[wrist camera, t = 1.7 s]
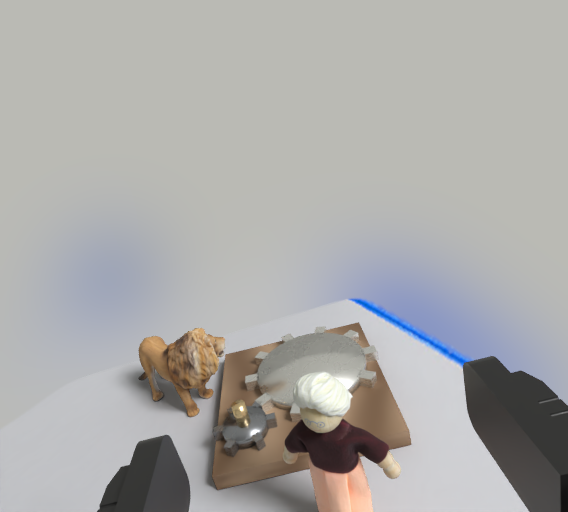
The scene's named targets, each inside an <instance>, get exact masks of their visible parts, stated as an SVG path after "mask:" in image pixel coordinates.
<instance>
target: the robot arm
mask: <svg viewBox="0 0 568 512" xmlns="http://www.w3.org/2000/svg"><path fill="white" fill-rule="evenodd" d="M463 374H464V383H465V393H466V402H467V410H468V414H469V417H470V420H471V423H472V425H473V427H474V429H475V431H476V433H477V434H478V436H479V437H480V439H481V440H482V442H483V443H484V445H485V446H486V448H487V449H488V451H489V452H490V454H491V455H492V457H493V458H494V460H495V461H496V463H497V464H498V466H499V467H500V469H501V470H502V472H503V473H504V474H505V476H506V477H507V479H508V480H509V482H510V483H511V485H512V486H513V488H514V489H515V491H516V492H517V494H518V495H519V497H520V498H521V500H522V501H523V503H524V504H525V506H526V507H527V509H528V510H529V512H568V406H567V405H566V404H565V403H564V402H563V401H562V400H561V399H560V400H559V398H558V396H557V395H556V394H555V393H554V392H553V391H552V390H551V389H550V388H549V387H548V386H547V385H546V384H545V383H544V382H543V381H540V380H539V379H537V378H535V377H533V376H531V375H529V374H527V373H525V372H523V371H518V372H514V373H510V372H509V371H508V370H507V369H506V368H505V367H504V366H503V364H502V363H501V362H500V361H499V360H498V359H497V358H496V357H494V356H490V357H487V358H482V359H478V360H474V361H470V362H466V363H464V365H463ZM189 505H190V485H189V479H188V476H187V473H186V471H185V469H184V467H183V464H182V462H181V460H180V457H179V455H178V453H177V451H176V448H175V446H174V444H173V441H172V439H171V438H170V436H168V435H164V436H160V437H156V438H151V439H147V440H143V441H140V442H139V443H138V444H137V446H136V448H135V451H134V454H133V457H132V460H131V463H130V465H128V466H124V467H121V468H120V469H119V471H118V472H117V473H116V475H115V476H114V477H113V479H112V480H111V481H110V483H109V484H108V485H107V488H106V490H105V493H104V495H103V498H102V501H101V503H100V510H98V511H97V512H188V511H189Z"/></svg>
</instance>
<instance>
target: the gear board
mask: <svg viewBox="0 0 568 512" xmlns="http://www.w3.org/2000/svg"><path fill="white" fill-rule="evenodd" d="M349 330H353V331H355V332H358V335H359V341H358V342H357V343H358V344H359V345H360V346H361V347H362V348H365V347H369V346H370V345H369V343H368V341H367V339H366V337H365V335H364V333H363V330H362V328H361V326H360V324H359V323H355V324H351V325H346V326H342V327H338V328H334V329H330V330H326V331H327V333H335V334H340V335H344V334H345V333H347V332H348V331H349ZM313 334H314V333H313ZM281 344H283V342H282V341H280V342H276V343H272V344H268V345H264V346H259V347H255V348H251V349H247V350H243V351H239V352H234V353H230V354H226V355H225V364H224V373H223V382H222V391H221V400H220V409H219V418H218V426H220V425H223V422H224V421H225V419H226V418H227V417H228V416H229V414H228V411H227V409H229V408H230V407H231V405H232V403H233V402H235V401H237V400H243V401H244V402H245V405H246V406H252V405H253V403H254V402H255V400H256V399H258V398H259V397H260V396H262V394H261V391H260V388H258V389H254V390H250V391H248V390H247V387H246V384H245V376H248V375H253V374H257V372H258V368H259V366H260V365H257V364H256V360H255V356H256V355H257V354H258V353H259V352H260V351H261V352H267V353H270V352H271V351H272V350H273V349H275V348H276V347H278V346H279V345H281ZM367 371H373V372H376V378H377V382H376V384H375V385H374V387H373V388H368V387H363V386H360V387H359V388H358V389H357V390H356V391H355V392H354V393H353V394H352V396H353V397H352V398H351V400H350V409H348V411H347V412H346V413H345V415H344V416H343V417H342V419H344V420H346V421H347V422H348V423H350V424H351V425H353V426H355V427H359V428H362V429H364V430H366V431H368V432H370V433H371V434H372V435H374V436H375V437H377V438H378V439H380V440H382V441H384V442H385V443H387V444H388V445H389V450H390V449H395V448H399V447H403V446H408V445H411V439H410V433H409V429H408V427H407V425H406V423H405V420H404V418H403V416H402V414H401V412H400V410H399V408H398V405H397V403H396V401H395V399H394V397H393V395H392V393H391V390H390V388H389V386H388V384H387V382H386V380H385V378H384V375H383V373H382V371H381V369H380V367H379V365H378V363H377V360H376V361H371V362H367ZM270 413H275V416H276V419H277V427H275V428H271V429H269V430H268V433H267V435H266V437H265V438H264V441H265V444H266V447H264V448H263V449H262V450H260V451H258V449H257V448H256V447H255V446H253V447H251V448H248V449H244V450H238V452H237V453H236V455H235V456H234V457H231V456H227V454H226V451H225V449H224V445H225V444H226V441H225V440H220V441H216V445H215V454H214V463H213V472H212V478H213V480H214V483H215V485H216V488H217V490H220V489H224V488H228V487H233V486H237V485H241V484H245V483H250V482H254V481H258V480H262V479H267V478H271V477H275V476H280V475H284V474H288V473H292V472H297V471H301V470H305V469H309V468H310V467H309V458H310V457H309V453H308V452H307V453H299V454H298V458H297V460H296V462H295V463H293V464H288V463H286V462H285V461H284V459H283V452H284V447H285V439H286V437H287V436H288V435H289V433H290V432H291V430H292V429H293V428H294V427H295V425H296V424H297V423H298V422H292V419H291V415H290V411H287V410H282V409H280V408H277V407H275V406H274V407H273V408H272V409H270V410H269V411H268V412H266V413H265V414H270ZM358 454H359V457H361V456H363V455H362V454H361V453H359V452H358Z"/></svg>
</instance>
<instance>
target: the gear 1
mask: <svg viewBox="0 0 568 512" xmlns="http://www.w3.org/2000/svg"><path fill="white" fill-rule="evenodd" d="M258 403H259V402H258ZM258 403H257V402H256V401H255V402H254V403H253V405H252V406H246V405H245V402H244V401H243V400H237V401H235V402H233V403H232V405H231V407H230V408H229V409H227V411H228V414H229V416H228V417H227V418H226V419H225V421H224V422H223V425H220V426H216V427H214V430H213V434H214V436H215V439H216V441H220V440H225V441H226V444H225V445H224V449H225V451H226V454H227V456H231V457H234V456H235V455H236V453H237V452H238V450H244V449H248V448H251V447H253V446H255V447H256V448H257V449H258V451H260V450H262V449H263V448H264V447H266V444H265V441H264V438H265V437H266V435H267V433H268V430H269V429H271V428H275V427H277V419H276V416H275V413H270V414H265V412H264V411H263V410H262V409H261V406H260V404H258Z"/></svg>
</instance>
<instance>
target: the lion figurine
mask: <svg viewBox="0 0 568 512" xmlns="http://www.w3.org/2000/svg"><path fill="white" fill-rule="evenodd" d="M224 341H225V339H224V338H223V337H213V336H211V335H209V334H208V335H207V334H205V331H204V329H202V328H200V329H199V328H195V329H194V330H193V331H188V332H187V333H185V334H184V336H182V337H181V338H180V339H178V340H176V342H174V343H172V344H170V345H166V344H165V343H164V341H163V339H162V338H160V337H157V336H152V337H148V338H145V339H144V340H143V342H142V343H141V344H140V347H139V358H140V362H141V365H142V367H143V369H144V371H145V372H144V373H143V374H142V375H141V376H140V377H139V378H138V379H139V380H142V381H143V380H145V379H146V378H147V377H148V379H149V384H150V386H151V389H152V393H153V400H154V401H158V400H159V399H161V398H162V397H163V393H162V392H161V391H160V390H159V388H158V385H157V381H156V379H155V369H156V371H157V372H158V373H159V374H160V376H161V377H162V378H164V379H166V380H168V381H170V382H172V383H173V384H174V386H175V388H176V390H177V392H178V394H179V395H180V397H181V399H182V401H183V403H184V405H185V407H186V410H187V414H188V416H189V417H193V416H196V415H197V414H198V413H199V409H198V408H197V405H196V403H195V402H194V401H193V400H192V398H191V395H190V391H189V389H192V388H195V389H196V388H197V389H198V392H199V395H200V396H201V397H202V398H205V399H208V398H210V397H212V395H213V390H212V389H206V388H205V384H206V383H207V382H208V381H209V379H210V376H212V375H213V374H215V372H216V371H217V370H218V366H219V359H218V357H222V356H223V355H224V352H223V350H224V349H225V342H224Z"/></svg>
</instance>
